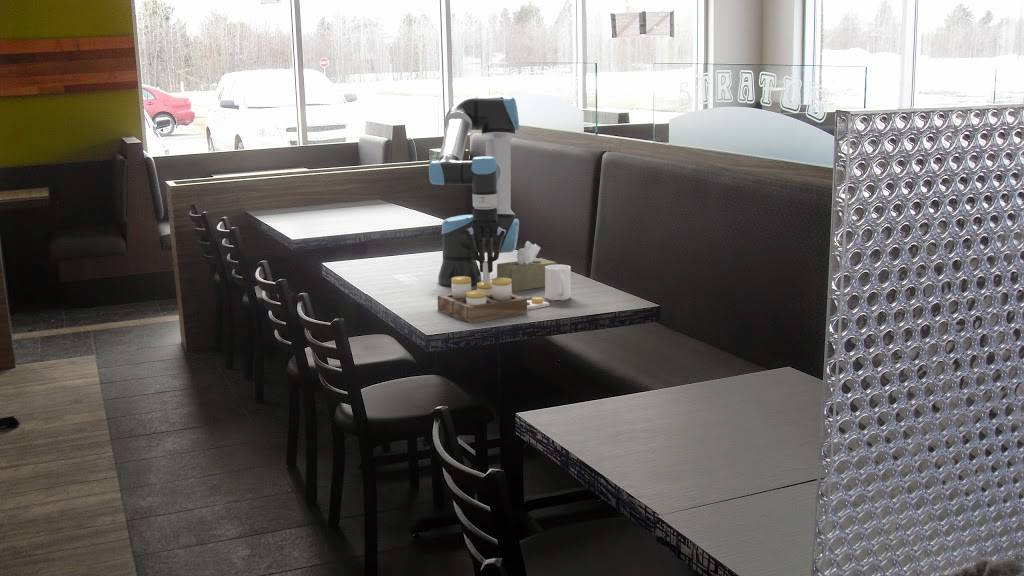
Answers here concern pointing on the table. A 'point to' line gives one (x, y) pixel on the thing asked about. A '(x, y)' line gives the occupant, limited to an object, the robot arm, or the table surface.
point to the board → (482, 308)
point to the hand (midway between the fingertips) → (486, 282)
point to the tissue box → (525, 269)
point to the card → (535, 302)
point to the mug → (557, 282)
